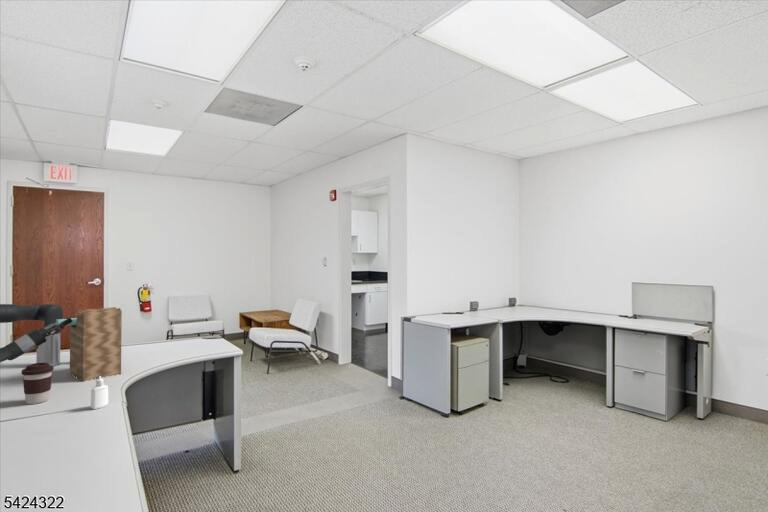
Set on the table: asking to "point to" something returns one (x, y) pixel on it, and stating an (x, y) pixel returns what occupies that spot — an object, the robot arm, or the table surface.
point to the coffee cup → (37, 382)
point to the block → (74, 322)
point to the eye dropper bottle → (99, 394)
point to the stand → (96, 343)
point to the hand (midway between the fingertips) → (69, 319)
